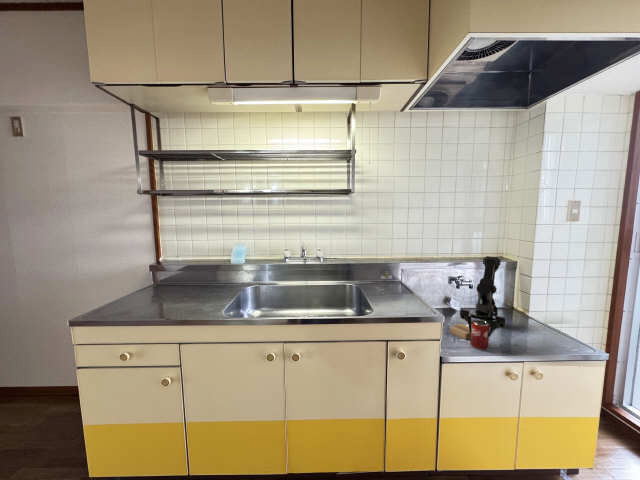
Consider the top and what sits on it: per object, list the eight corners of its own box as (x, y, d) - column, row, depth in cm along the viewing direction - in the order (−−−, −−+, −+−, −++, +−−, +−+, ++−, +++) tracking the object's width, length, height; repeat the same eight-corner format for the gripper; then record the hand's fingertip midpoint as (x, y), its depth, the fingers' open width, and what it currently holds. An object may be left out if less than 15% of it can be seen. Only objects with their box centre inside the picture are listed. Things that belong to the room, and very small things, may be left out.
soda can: (485, 344, 131) (487, 320, 129) (489, 351, 124) (491, 326, 122) (469, 342, 133) (470, 318, 131) (471, 349, 126) (473, 324, 125)
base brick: (461, 328, 147) (461, 323, 147) (477, 335, 139) (477, 330, 139) (449, 332, 143) (450, 326, 143) (465, 339, 135) (465, 334, 135)
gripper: (461, 293, 134) (455, 322, 127) (506, 300, 123) (503, 332, 116) (463, 304, 141) (458, 331, 134) (506, 312, 130) (503, 343, 123)
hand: (479, 334), depth 126 cm, fingers closed on soda can, 7 cm apart
